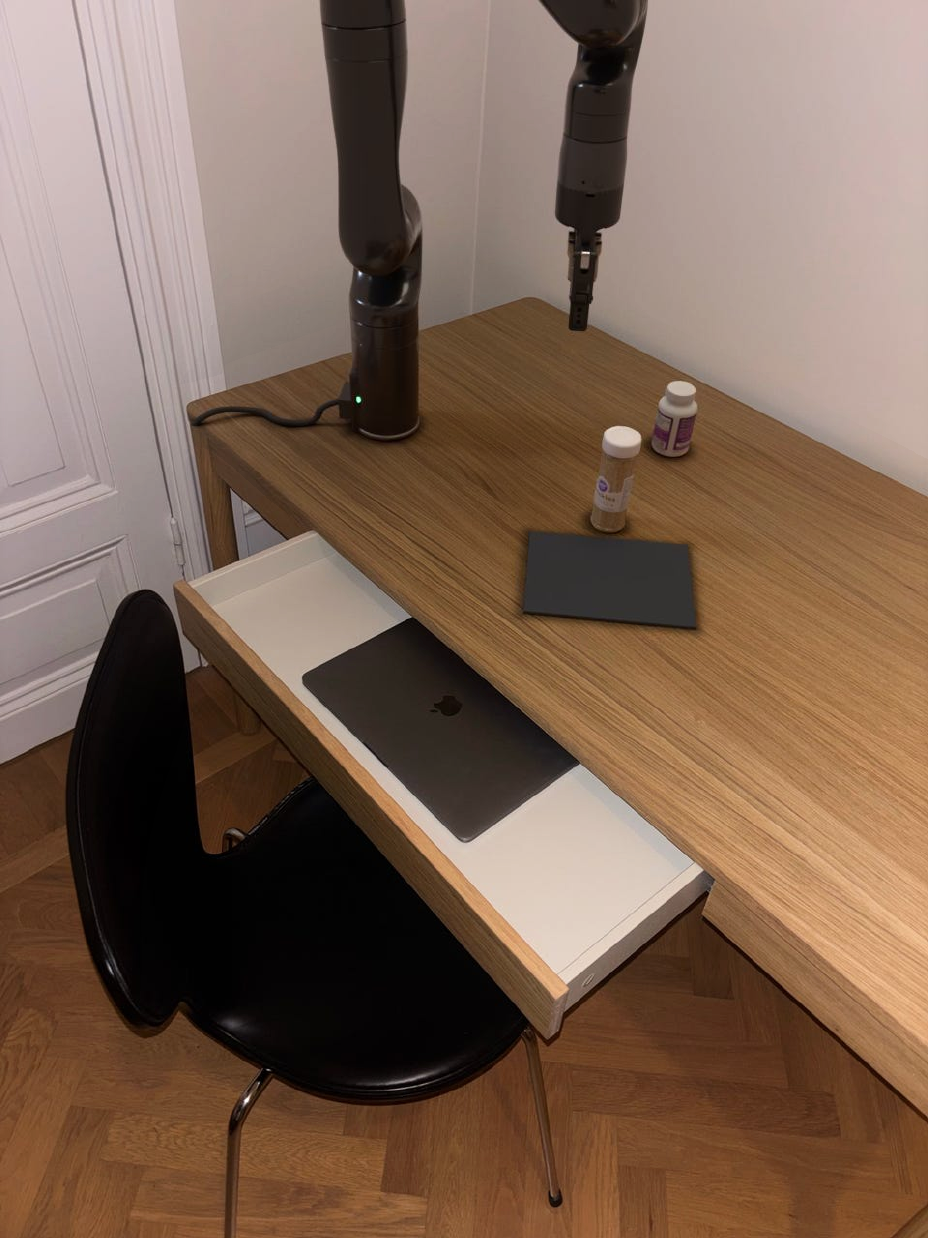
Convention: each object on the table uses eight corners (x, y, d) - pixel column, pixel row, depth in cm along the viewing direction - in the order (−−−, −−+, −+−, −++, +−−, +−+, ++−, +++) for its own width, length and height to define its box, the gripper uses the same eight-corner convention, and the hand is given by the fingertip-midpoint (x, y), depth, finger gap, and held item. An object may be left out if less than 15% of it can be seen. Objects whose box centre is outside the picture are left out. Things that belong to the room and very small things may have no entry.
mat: (522, 613, 110) (523, 610, 110) (529, 533, 121) (529, 530, 121) (695, 629, 109) (696, 627, 109) (687, 547, 120) (687, 544, 120)
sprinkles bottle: (583, 523, 123) (596, 435, 113) (603, 508, 125) (617, 420, 116) (612, 538, 121) (628, 449, 111) (632, 522, 123) (649, 434, 114)
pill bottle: (687, 438, 138) (700, 379, 131) (689, 459, 134) (703, 399, 127) (649, 435, 138) (661, 376, 131) (651, 456, 134) (663, 396, 128)
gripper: (558, 153, 111) (549, 287, 123) (555, 198, 101) (545, 339, 112) (623, 156, 111) (607, 290, 122) (626, 201, 101) (609, 342, 112)
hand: (577, 313), depth 117 cm, fingers open, 8 cm apart
